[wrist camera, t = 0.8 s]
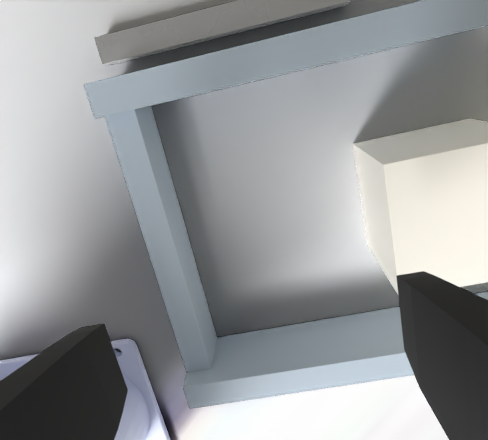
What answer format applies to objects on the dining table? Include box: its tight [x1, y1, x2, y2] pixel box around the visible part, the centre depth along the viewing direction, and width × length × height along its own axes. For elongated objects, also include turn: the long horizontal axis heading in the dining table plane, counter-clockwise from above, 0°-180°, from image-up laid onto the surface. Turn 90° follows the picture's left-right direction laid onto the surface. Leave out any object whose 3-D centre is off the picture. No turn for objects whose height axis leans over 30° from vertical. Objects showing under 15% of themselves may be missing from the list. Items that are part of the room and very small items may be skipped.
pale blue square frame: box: [84, 0, 488, 409], centre depth 18 cm, size 15×14×4 cm
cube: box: [353, 118, 488, 294], centre depth 16 cm, size 5×5×5 cm
